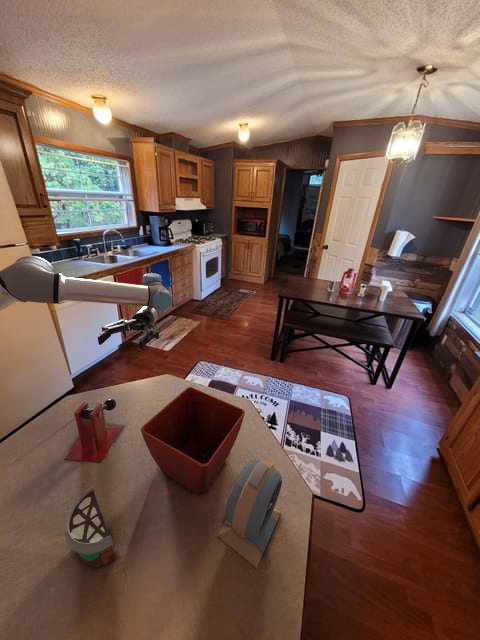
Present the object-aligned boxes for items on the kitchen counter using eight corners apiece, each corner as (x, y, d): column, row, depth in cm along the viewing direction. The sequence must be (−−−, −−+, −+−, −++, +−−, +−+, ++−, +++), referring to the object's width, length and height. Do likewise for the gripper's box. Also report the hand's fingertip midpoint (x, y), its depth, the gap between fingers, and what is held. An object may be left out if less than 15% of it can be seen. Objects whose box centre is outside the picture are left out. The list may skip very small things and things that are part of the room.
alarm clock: (254, 573, 50) (265, 519, 43) (214, 540, 54) (218, 486, 47) (282, 509, 61) (294, 458, 54) (247, 486, 66) (254, 436, 59)
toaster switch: (90, 427, 79) (83, 391, 73) (122, 430, 79) (117, 394, 73) (64, 462, 68) (53, 423, 62) (101, 465, 68) (94, 427, 62)
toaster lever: (106, 408, 81) (108, 397, 81) (117, 409, 81) (119, 398, 81) (78, 420, 67) (80, 406, 67) (92, 422, 67) (94, 408, 67)
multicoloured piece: (67, 533, 53) (57, 504, 49) (99, 513, 57) (92, 484, 53) (81, 596, 45) (71, 566, 41) (117, 567, 49) (111, 537, 45)
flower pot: (143, 476, 66) (138, 428, 59) (189, 427, 82) (189, 385, 75) (203, 517, 58) (205, 467, 52) (241, 455, 74) (246, 410, 67)
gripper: (176, 329, 103) (158, 356, 84) (115, 323, 103) (83, 349, 84) (175, 312, 100) (157, 336, 81) (113, 306, 100) (80, 329, 81)
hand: (119, 343), depth 82 cm, fingers open, 13 cm apart
